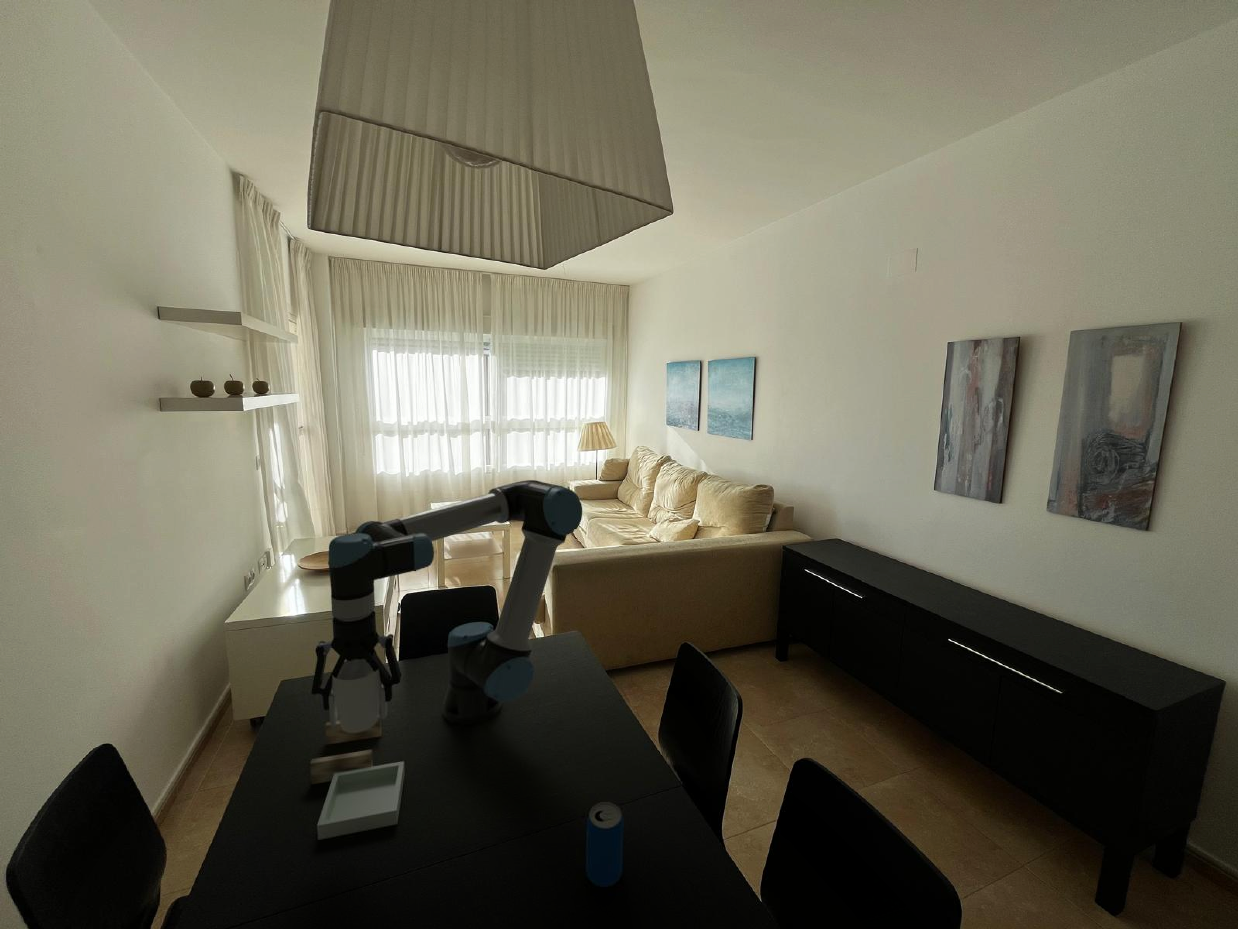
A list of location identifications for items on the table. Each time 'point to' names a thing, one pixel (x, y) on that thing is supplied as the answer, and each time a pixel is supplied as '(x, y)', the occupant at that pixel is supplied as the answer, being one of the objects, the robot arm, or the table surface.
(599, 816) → the beverage can
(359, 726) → the cup
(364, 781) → the tray
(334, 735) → the rest
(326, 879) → the table surface
